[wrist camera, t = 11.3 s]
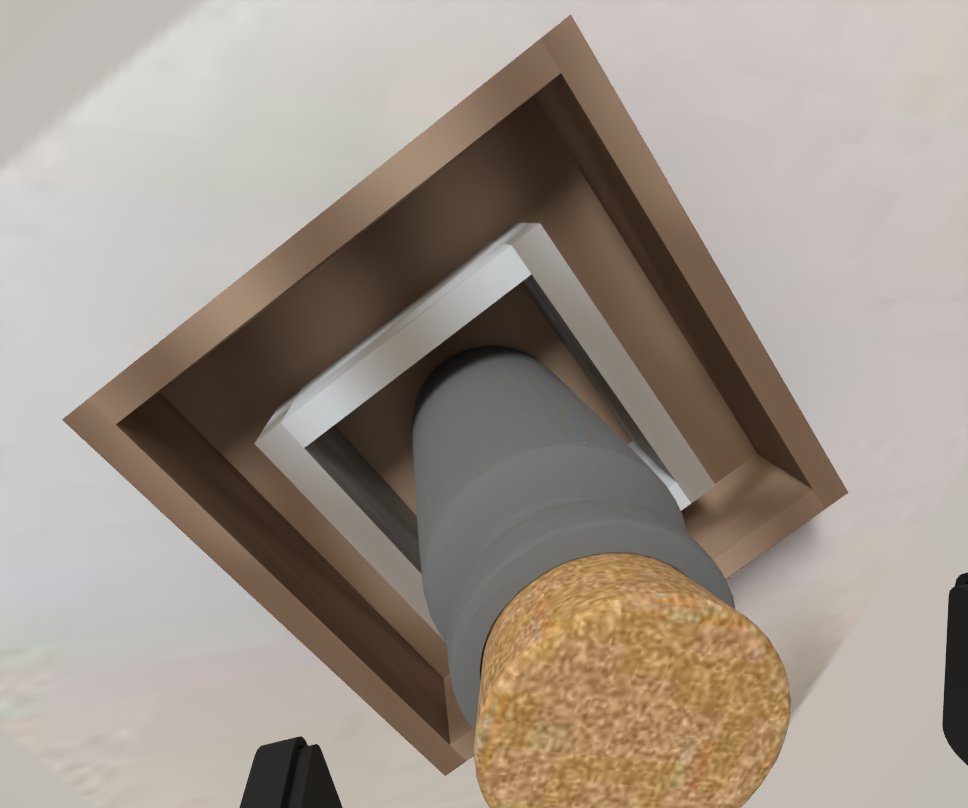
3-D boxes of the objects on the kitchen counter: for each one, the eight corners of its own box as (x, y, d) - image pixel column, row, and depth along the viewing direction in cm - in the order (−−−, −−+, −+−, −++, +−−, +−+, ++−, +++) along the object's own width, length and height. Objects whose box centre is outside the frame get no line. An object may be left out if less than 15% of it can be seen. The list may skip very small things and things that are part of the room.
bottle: (465, 313, 22) (591, 486, 7) (595, 393, 23) (908, 666, 9) (381, 448, 23) (353, 828, 8) (512, 517, 24) (674, 938, 10)
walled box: (535, 57, 21) (575, 8, 16) (774, 448, 26) (858, 498, 21) (128, 380, 22) (52, 425, 17) (438, 689, 27) (446, 787, 23)
